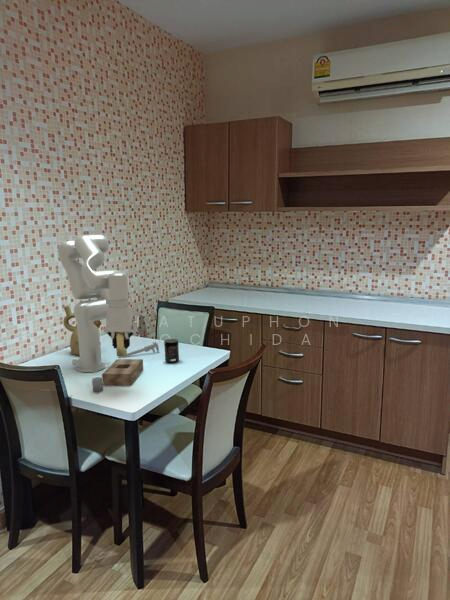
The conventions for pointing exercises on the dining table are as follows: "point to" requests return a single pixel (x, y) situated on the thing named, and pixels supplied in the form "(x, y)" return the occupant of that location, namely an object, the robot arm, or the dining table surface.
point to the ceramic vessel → (74, 330)
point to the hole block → (123, 372)
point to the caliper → (146, 348)
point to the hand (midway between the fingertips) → (121, 347)
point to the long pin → (120, 344)
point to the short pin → (97, 385)
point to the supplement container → (171, 351)
